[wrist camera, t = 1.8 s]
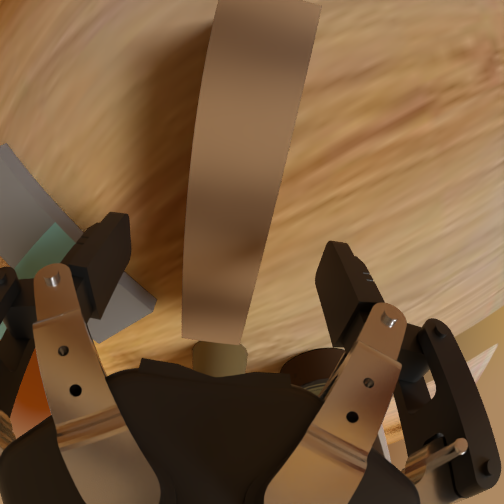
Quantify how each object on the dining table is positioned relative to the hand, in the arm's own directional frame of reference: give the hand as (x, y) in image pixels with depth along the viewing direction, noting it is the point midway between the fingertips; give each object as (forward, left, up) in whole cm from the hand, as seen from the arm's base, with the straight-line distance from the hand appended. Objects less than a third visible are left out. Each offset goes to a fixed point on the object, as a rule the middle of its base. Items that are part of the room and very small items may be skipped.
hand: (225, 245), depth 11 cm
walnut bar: (0, 0, -9) cm, 8 cm away
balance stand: (+9, -16, -8) cm, 20 cm away
